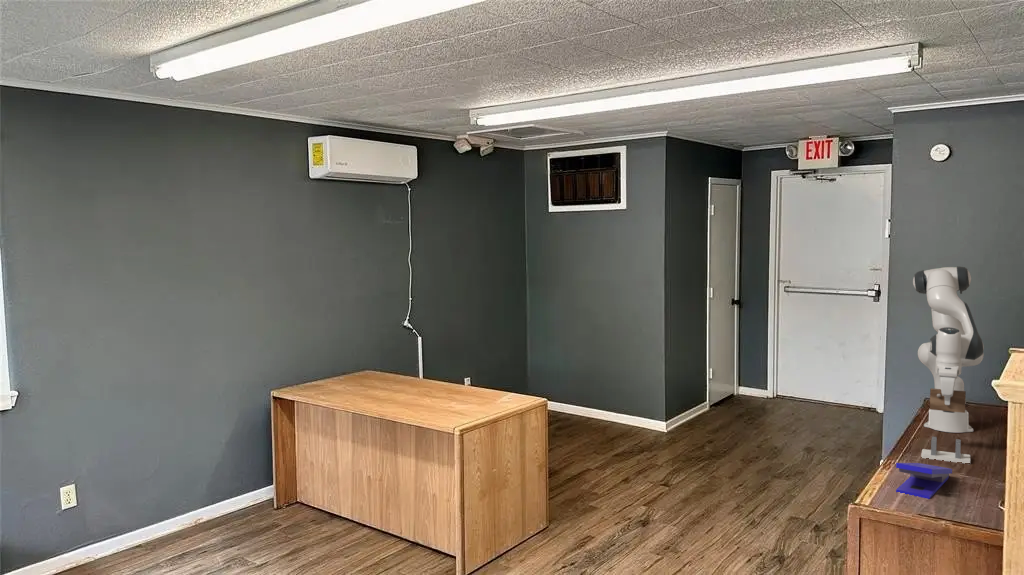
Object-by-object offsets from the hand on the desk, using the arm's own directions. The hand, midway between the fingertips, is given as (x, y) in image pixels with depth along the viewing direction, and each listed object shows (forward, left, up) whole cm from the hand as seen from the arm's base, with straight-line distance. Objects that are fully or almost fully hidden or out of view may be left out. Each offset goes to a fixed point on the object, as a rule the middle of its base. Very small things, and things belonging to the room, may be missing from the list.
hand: (947, 403), depth 289 cm
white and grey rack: (+12, 0, -19) cm, 22 cm away
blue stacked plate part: (+50, -6, -20) cm, 54 cm away
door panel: (0, 0, -3) cm, 3 cm away
